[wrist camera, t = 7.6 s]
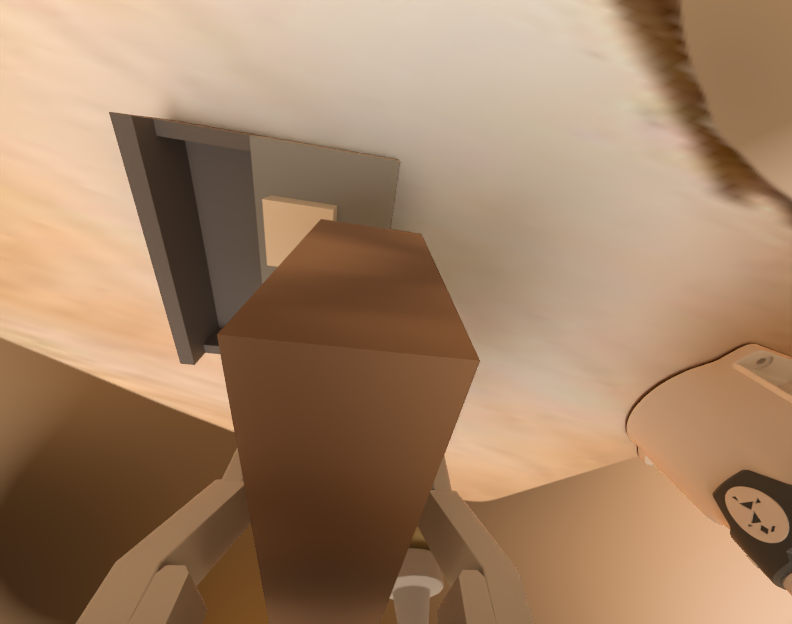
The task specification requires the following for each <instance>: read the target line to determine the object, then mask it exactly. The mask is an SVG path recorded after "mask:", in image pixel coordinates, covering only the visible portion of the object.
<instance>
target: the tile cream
mask: <svg viewBox="0 0 792 624" xmlns="http://www.w3.org/2000/svg"><path fill="white" fill-rule="evenodd" d="M262 204H263V218H264V231H265V244H266V258H267V265H268V266H276V267H278V266H279V265H280V264H281V263H282V262H283V261H284V260H285V258H286V257H287V256H288V255H289V254H290V253H291V252H292V251H293V250H294V248H295V247H296V246H297V245H298V244H299V243H300V242H301V241H302V239H303V238H304V237H305V236H306V235H307V234H308V233H309V232H310V231H311V229H312V228H313V227H314V226H315V225H316V224H317V223H318V222H319V221H320V219H324V220H331V221H337V205H331V204H325V203H318V202H312V201H305V200H299V199H292V198H286V197H279V196H273V195H271V196H268V197H266V198H264V199H262Z"/></svg>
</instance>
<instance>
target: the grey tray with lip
mask: <svg viewBox="0 0 792 624" xmlns="http://www.w3.org/2000/svg"><path fill="white" fill-rule="evenodd" d="M109 114H110V117H111V121H112V124H113V128H114V131H115V135H116V138H117V142H118V145H119V149H120V152H121V156H122V159H123V163H124V166H125V170H126V173H127V177H128V181H129V184H130V188H131V191H132V195H133V198H134V202H135V205H136V209H137V212H138V216H139V219H140V223H141V226H142V230H143V233H144V237H145V240H146V244H147V247H148V251H149V254H150V258H151V261H152V265H153V268H154V272H155V275H156V279H157V282H158V286H159V289H160V293H161V296H162V300H163V304H164V307H165V311H166V314H167V318H168V321H169V325H170V328H171V332H172V335H173V339H174V342H175V346H176V349H177V353H178V356H179V360H180V363H181V364H191V365H195V364H196V362H197V361H198V360H199V359H200V358H201V357H202V356H203V354H204V353H214V354H220V348H219V343H218V337H217V334H218V333H219V332H220V331H221V330H222V328H223V327H224V326H225V325H226V324H227V323H228V322H229V321H230V320H231V318H232V317H233V316H234V315H235V314H236V313H237V312H238V311H239V310H240V308H241V307H242V306H243V305H244V304H245V303H246V302H247V301H248V300H249V298H250V297H251V296H252V295H253V294H254V293H255V292H256V291H257V290H258V288H259V287H260V286H261V285H262V284H263V283H264V282H265V281H266V280H267V278H268V277H269V276H270V275H271V274H272V273H273V272H274V271H275V270H276V268H277V267H276V266H268V265H267V258H266V244H265V231H264V218H263V204H262V199H264V198H266V197H268V196H271V195H273V196H279V197H286V198H292V199H299V200H305V201H312V202H318V203H325V204H331V205H337V221H338V222H344V223H351V224H358V225H365V226H371V227H378V228H385V229H390V228H391V221H392V214H393V207H394V200H395V193H396V186H397V179H398V172H399V165H400V161H399V160H398V159H392V158H386V157H380V156H375V155H369V154H363V153H357V152H352V151H346V150H340V149H334V148H329V147H323V146H317V145H311V144H306V143H300V142H294V141H289V140H283V139H277V138H271V137H266V136H260V135H254V134H248V133H243V132H237V131H231V130H225V129H220V128H214V127H208V126H202V125H197V124H191V123H185V122H180V121H174V120H168V119H160V118H152V117H144V116H136V115H128V114H121V113H113V112H109Z"/></svg>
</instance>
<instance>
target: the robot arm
mask: <svg viewBox="0 0 792 624" xmlns="http://www.w3.org/2000/svg"><path fill="white" fill-rule="evenodd" d="M627 434H628V436H629V438H630V439H631V440H632V441H633V442H634V443H635V444H636V445H637V446H638V455H639V457H640V458H641V459H642V460H643V461H644V462H645V463H646V464H647V465H655V466H656V467H657V468H658V469H659V470H660V471H661V472H662V473H663V474H664V475H665V476H666V477H667V478H668V479H669V480H670V481H671V482H672V483H673V484H674V485H675V486H676V487H677V488H678V489H679V490H680V491H681V493H683V494H684V495H685V497H686V498H687V499H689V501H690V502H691V503H692V504H693V505H694V506H695V507H696V508H697V509H698V510H700V512H701V513H702V514H703V515H704V516H705V517H707V518H708V519H709V520H711V521H713V522H715V523H718V524H721V525H724V526H726V527H728V528H729V529H730V535H731V537H732V538H733V539H734V541H735V542H736V543H737V544H738V545H739V546H740V547H741V549H742V550H744V552H745V553H746V554H747V557H748V558H749V559H750V560H751V561H752V563H753V564H754V565H755V566H756V567H757V568H760V569H761V570H762V571H763V573H764V574H765V575H766V576H767V577H768V578H769V579H770V580H771V581H772V582H773V583H774V584H775V585H776V586H778V587H780V588H783V589H785V590H787V591H788V592H789V593H790V594H791V595H792V357H790V356H787V355H784V354H782V353H779V352H776V351H774V350H771V349H768V348H766V347H763V346H760V345H757V344H749V345H745V346H743V347H741V348H739V349H737V350H735V351H733V352H731V353H729V354H727V355H726V356H724V357H722V358H721V359H719V360H716V361H714V362H711V363H708V364H705V365H702V366H699V367H696V368H693V369H690V370H688V371H685V372H683V373H681V374H679V375H677V376H675V377H673V378H671V379H669V380H667V381H666V382H664V383H662V384H661V385H659V386H658V387H656V388H655V389H654V390H652V391H651V392H650V393H649V394H647V395H646V396H645V397H644V398H643V399H642V400H641V401H640V402H639V403H638V404H637V406H636V407H635V408H634V410H633V411H632V413H631V415H630V417H629V419H628V422H627ZM250 523H251V520H250V514H249V509H248V503H247V498H246V492H245V487H244V481H243V476H242V470H241V465H240V459H239V453H238V448H237V449H236V452H235V453H234V456H233V458H232V460H231V462H230V464H229V466H228V468H227V470H226V472H225V474H224V476H223V478H222V480H215V481H214V482H213V483H212V484H210V485H209V486H208V487H207V488H205V489H204V490H203V491H202V492H201V493H199V494H198V495H197V496H196V497H194V498H193V499H192V500H191V501H190V502H188V503H187V504H186V505H185V506H183V507H182V508H181V509H180V510H179V511H177V512H176V513H175V514H174V515H173V516H171V517H170V518H169V519H168V520H166V521H165V522H164V523H163V524H162V525H160V526H159V527H158V528H157V529H155V530H154V531H153V532H152V533H151V534H149V535H148V536H147V537H146V538H145V539H143V540H142V541H141V542H140V543H138V544H137V545H136V546H135V547H134V548H132V549H131V550H130V551H129V552H127V554H125V555H124V556H123V557H122V558H120V559H119V560H118V561H116V563H115V564H114V566H113V567H112V569H111V570H110V572H109V573H108V575H107V577H106V578H105V579H104V581H103V583H102V584H101V586H100V587H99V589H98V590H97V592H96V593H95V595H94V597H93V598H92V599H91V601H90V602H89V604H88V606H87V607H86V609H85V610H84V612H83V613H82V615H81V616H80V618H79V619H78V621H77V622H76V624H202V623H203V621H204V618H205V615H206V613H207V610H206V606H205V604H204V602H203V600H202V598H201V596H200V594H199V592H198V590H197V588H196V586H197V585H198V584H199V583H200V582H201V580H202V579H203V578H204V577H205V576H206V575H207V573H208V572H209V571H210V570H211V569H212V568H213V566H214V565H215V564H216V563H217V562H218V561H219V559H220V558H221V557H222V556H223V555H224V554H225V552H226V551H227V550H228V549H229V548H230V547H231V545H232V544H233V543H234V542H235V541H236V540H237V538H238V537H239V536H240V535H241V534H242V533H243V531H244V530H245V529H246V528H247V527H248V526H249V524H250ZM417 526H418V528H419V530H420V532H421V534H422V536H423V537H424V539H425V541H426V543H427V545H428V547H429V549H430V550H431V552H432V554H433V556H434V558H435V560H436V562H437V564H438V565H439V567H440V569H441V571H442V573H443V574H444V577H445V578H446V580H447V582H448V584H449V586H450V588H451V589H450V591H449V592H448V593H447V595H446V597H445V598H444V600H443V601H442V603H441V604H440V606H439V608H438V609H437V619H438V624H535V623H534V620H533V616H532V614H531V610H530V607H529V604H528V601H527V598H526V595H525V591H524V588H523V585H522V582H521V579H520V576H519V572H518V569H517V568H516V567H515V566H514V564H513V563H512V562H511V561H510V559H509V558H508V557H507V556H506V554H505V553H504V552H503V550H502V549H501V548H500V547H499V545H498V544H497V543H496V542H495V540H494V539H493V538H492V536H491V535H490V534H489V532H488V531H487V530H486V528H485V527H484V526H483V525H482V523H481V522H480V521H479V520H478V518H477V517H476V516H475V514H474V513H473V512H472V511H471V510H470V508H469V507H468V505H467V504H466V503H465V502H464V500H463V499H462V498H461V496H460V495H459V494H458V493H457V491H452V490H451V485H450V480H449V475H448V470H447V465H446V460H445V455H444V456H443V459H442V462H441V464H440V467H439V470H438V472H437V475H436V477H435V480H434V483H433V485H432V488H431V491H430V493H429V496H428V498H427V501H426V504H425V506H424V509H423V512H422V514H421V517H420V520H419V522H418V525H417Z"/></svg>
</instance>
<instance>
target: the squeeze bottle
mask: <svg viewBox="0 0 792 624" xmlns="http://www.w3.org/2000/svg"><path fill="white" fill-rule="evenodd" d="M442 588H443V579H442V571H441V569H440V567H439V565H438V564H437V562H436V560H435V558H434V556H433V554H432V552H431V550H430V549H429V547H428V545H427V543H426V541H425V539H424V537H423V536H422V534H421V532H420V530H419V528H418V526H417V527H416V530H415V533H414V535H413V538H412V541H411V543H410V546H409V548H408V551H407V554H406V556H405V559H404V562H403V564H402V567H401V569H400V572H399V575H398V577H397V580H396V583H395V585H394V588H393V590H392V593H391V596H390V598H389V599H394V605H395V611H396V616H397V622H398V624H428V621H429V603H430V597H432V596H434V595H436V594H438V593H439V592H440V591H441V590H442Z"/></svg>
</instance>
